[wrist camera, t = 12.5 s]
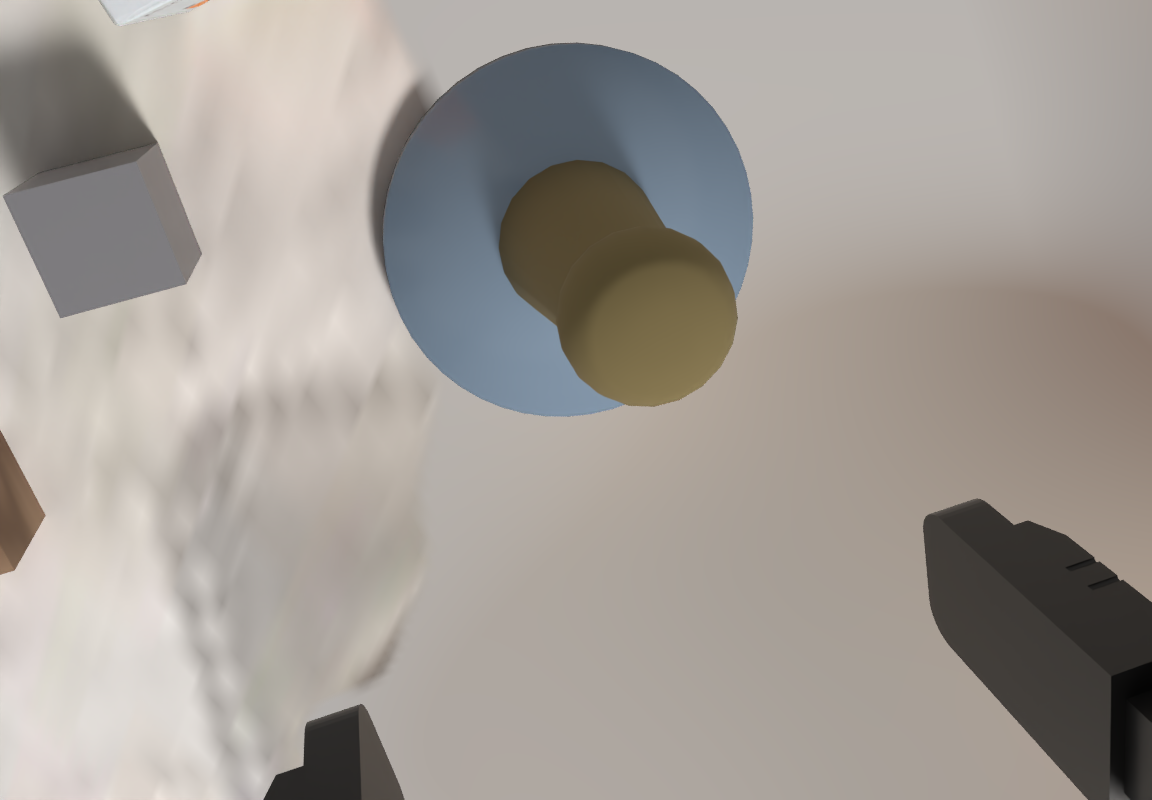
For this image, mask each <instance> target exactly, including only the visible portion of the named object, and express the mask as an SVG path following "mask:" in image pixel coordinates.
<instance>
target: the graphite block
mask: <svg viewBox="0 0 1152 800" xmlns="http://www.w3.org/2000/svg"><path fill="white" fill-rule="evenodd" d="M3 198H4V200H5V202H6V204H7V206H8V208H9V210H10V212H11V215H12V217H13V219H14V221H15V223H16V225H17V227H18V229H19V232H20V234H21V236H22V238H23V240H24V242H25V244H26V246H27V248H28V251H29V253H30V255H31V257H32V259H33V261H34V263H35V265H36V268H37V270H38V272H39V274H40V276H41V278H42V280H43V282H44V284H45V287H46V289H47V291H48V293H49V295H50V297H51V299H52V301H53V303H54V306H55V308H56V310H57V312H58V314H59V316H60V318H63V317H67V316H70V315H74V314H78V313H81V312H85V311H89V310H92V309H96V308H100V307H103V306H107V305H111V304H115V303H118V302H122V301H126V300H129V299H133V298H137V297H140V296H144V295H148V294H151V293H155V292H159V291H162V290H166V289H170V288H173V287H177V286H181V285H184V284H186V283H187V282H188V280H189V278H190V276H191V274H192V272H193V270H194V268H195V266H196V264H197V262H198V260H199V258H200V257H201V255H202V253H201V250H200V248H199V245H198V243H197V240H196V238H195V235H194V233H193V230H192V228H191V225H190V223H189V220H188V217H187V215H186V212H185V210H184V207H183V205H182V202H181V200H180V197H179V195H178V192H177V190H176V187H175V185H174V182H173V180H172V177H171V174H170V172H169V169H168V167H167V164H166V162H165V159H164V157H163V154H162V152H161V149H160V147H159V144H158V143H154V144H150V145H146V146H142V147H139V148H135V149H131V150H127V151H123V152H119V153H115V154H111V155H107V156H103V157H99V158H96V159H92V160H88V161H84V162H80V163H76V164H72V165H68V166H64V167H60V168H57V169H53V170H49V171H45V172H41V173H38V174H36V175H35V176H33V177H32V178H30V179H29V180H27V181H25V182H24V183H22V184H21V185H19V186H17V187H16V188H14V189H13V190H11V191H9V192H8V193H6V194H5V195H3Z"/></svg>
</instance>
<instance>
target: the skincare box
mask: <svg viewBox="0 0 1152 800" xmlns="http://www.w3.org/2000/svg"><path fill="white" fill-rule="evenodd" d="M207 1H209V0H99V2H100V3H101V5H102V6H103V8H104V9H105V11H106V12H107V14H108V15H109V17H110V18H111V20H112V21H113V23H114V24H116V25H118V26H124V25H129V24H134V23H139V22H143V21H148V20H152V19H157V18H163V17H166V16H170V15H174V14H180V13H185V12H189V11H191V10H193V9H195V8H197V7H198V6H200V5H202V4H204V3H205V2H207Z"/></svg>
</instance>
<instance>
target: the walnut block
mask: <svg viewBox="0 0 1152 800" xmlns="http://www.w3.org/2000/svg"><path fill="white" fill-rule="evenodd" d="M44 517H45V514H44V512H43V510H42V508H41V506H40V504H39V502H38V501H37V499H36V497H35V495H34V493H33V491H32V489H31V487H30V485H29V484H28V482H27V480H26V478H25V476H24V474H23V472H22V470H21V468H20V467H19V465H18V463H17V461H16V459H15V457H14V455H13V453H12V451H11V450H10V448H9V446H8V444H7V442H6V440H5V438H4V436H3V434H2V433H1V431H0V575H1V574H4V573H7V572H11V571H14V570H15V569H16V567H17V565H18V563H19V561H20V560H21V558H22V556H23V554H24V553H25V551H26V549H27V547H28V546H29V544H30V542H31V540H32V538H33V537H34V535H35V533H36V531H37V530H38V528H39V526H40V524H41V523H42V521H43V519H44Z"/></svg>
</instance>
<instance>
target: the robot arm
mask: <svg viewBox="0 0 1152 800" xmlns="http://www.w3.org/2000/svg"><path fill="white" fill-rule="evenodd" d="M923 532H924V543H925V554H926V566H927V577H928V588H929V599H930V606H931V610H932V613H933V616H934V619H935V621H936V624H937V626H938V628H939V630H940V632H941V634H942V636H943V637H944V639H945V640H946V642H947V643H948V644H949V646H950V647H951V648H952V649H953V650H954V651H955V652H956V653H957V655H958V656H959V657H960V658H961V659H962V660H963V661H964V662H965V664H966V665H967V666H968V667H969V668H970V669H971V670H972V671H973V672H974V674H975V675H976V676H977V677H978V678H979V679H980V680H981V681H982V682H983V684H984V685H985V686H986V687H987V688H988V689H989V690H990V691H991V692H992V693H993V695H994V696H995V697H996V698H997V699H998V700H999V701H1000V702H1001V703H1002V705H1003V706H1004V707H1005V708H1006V709H1007V710H1008V711H1009V712H1010V714H1011V715H1012V716H1013V717H1014V718H1015V719H1016V720H1017V721H1018V722H1019V724H1020V725H1021V726H1022V727H1023V728H1024V729H1025V730H1026V731H1027V732H1028V734H1029V735H1030V736H1031V737H1032V738H1033V739H1034V740H1035V741H1036V742H1037V743H1038V745H1039V746H1040V747H1041V748H1042V749H1043V750H1044V751H1045V752H1046V754H1047V755H1048V756H1049V757H1050V758H1051V759H1052V760H1053V761H1054V762H1055V764H1056V765H1057V766H1058V767H1059V768H1060V769H1061V770H1062V771H1063V772H1064V773H1065V774H1066V776H1067V777H1068V778H1069V779H1070V780H1071V781H1072V782H1073V783H1074V785H1075V786H1076V787H1077V788H1078V789H1079V790H1080V791H1081V792H1082V794H1083V795H1084V796H1085V797H1086V798H1087V799H1088V800H1152V602H1151V601H1149V600H1148V599H1147V598H1145V597H1144V596H1143V595H1142V594H1140V593H1139V592H1138V591H1137V590H1135V589H1134V588H1133V587H1131V586H1130V585H1129V584H1128V583H1126V582H1125V581H1124V580H1121V581H1120V580H1119V579H1118V577H1117V575H1116V574H1115V573H1114V572H1112V571H1111V570H1110V569H1108V568H1107V567H1106V566H1105V565H1103V564H1102V563H1101V562H1096V561H1095V559H1094V557H1093V556H1092V555H1090V554H1089V553H1088V552H1087V551H1086V550H1084V549H1083V548H1082V547H1080V546H1079V545H1078V544H1076V543H1075V542H1074V541H1073V540H1072V539H1070V538H1069V537H1068V536H1066V535H1064V534H1061V533H1059V532H1056V531H1054V530H1051V529H1049V528H1046V527H1043V526H1041V525H1038V524H1036V523H1033V522H1030V521H1025V522H1022V523H1019V524H1016V525H1013V524H1012V523H1011V522H1010V521H1008V520H1007V519H1006V518H1005V517H1004V516H1002V515H1001V514H1000V513H999V512H997V511H996V510H995V509H994V508H992V507H991V506H990V505H989V504H988V503H986V502H985V501H983V500H981V499H973V500H971V501H967V502H965V503H962V504H959V505H956V506H953V507H950V508H947V509H944V510H941V511H938V512H935V513H932V514H929V515H927V516H926V518H925V519H924V525H923ZM264 800H404V797H403V794H402V791H401V788H400V785H399V783H398V780H397V778H396V776H395V773H394V771H393V769H392V767H391V764H390V762H389V759H388V757H387V755H386V752H385V750H384V748H383V746H382V743H381V741H380V739H379V736H378V734H377V732H376V729H375V727H374V725H373V722H372V720H371V718H370V716H369V713H368V711H367V710H366V708H365V707H364V705H362V704H360V705H357V706H354V707H351V708H348V709H345V710H342V711H339V712H336V713H333V714H330V715H327V716H324V717H321V718H318V719H315V720H312V721H309V722H307V724H306V727H305V739H304V766H302V767H299V768H296V769H293V770H290V771H287V772H284V773H281V774H278V775H276V776H275V778H274V780H273V782H272V784H271V786H270V788H269V790H268V792H267V794H266V796H265V798H264Z"/></svg>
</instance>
